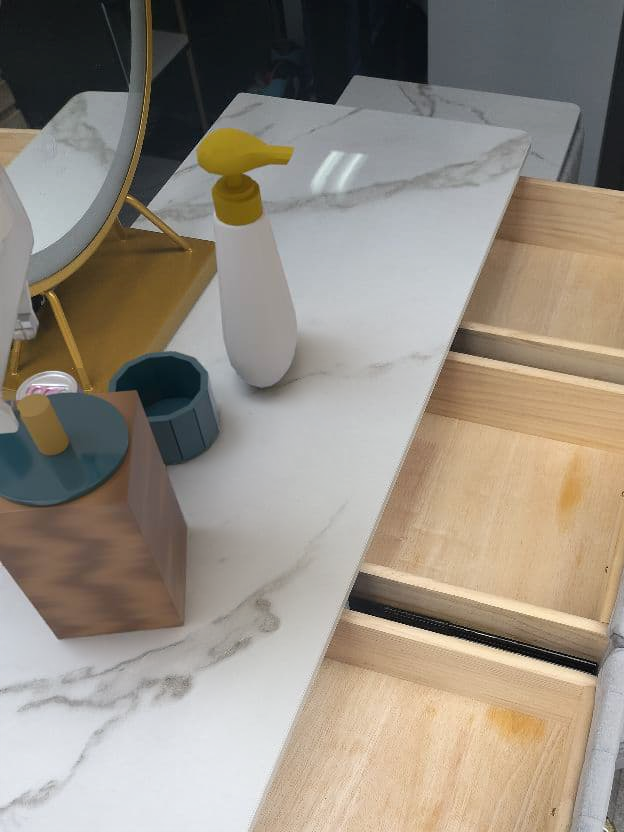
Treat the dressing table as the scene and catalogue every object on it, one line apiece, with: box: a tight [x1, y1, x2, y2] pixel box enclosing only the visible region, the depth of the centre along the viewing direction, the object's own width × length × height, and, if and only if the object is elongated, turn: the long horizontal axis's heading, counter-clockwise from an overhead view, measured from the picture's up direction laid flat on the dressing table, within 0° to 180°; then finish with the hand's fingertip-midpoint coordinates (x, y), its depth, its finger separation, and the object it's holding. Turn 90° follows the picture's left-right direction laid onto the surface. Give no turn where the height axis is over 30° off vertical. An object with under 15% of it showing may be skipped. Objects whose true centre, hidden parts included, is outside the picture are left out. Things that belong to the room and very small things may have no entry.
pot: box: [107, 350, 221, 466], centre depth 91 cm, size 11×11×7 cm
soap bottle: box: [195, 127, 298, 389], centre depth 88 cm, size 13×10×29 cm
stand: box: [0, 390, 188, 640], centre depth 74 cm, size 12×12×20 cm
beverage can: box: [15, 370, 84, 400], centre depth 82 cm, size 6×6×15 cm
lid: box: [0, 392, 129, 507], centre depth 63 cm, size 12×12×5 cm
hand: (18, 377), depth 59 cm, fingers open, 8 cm apart
